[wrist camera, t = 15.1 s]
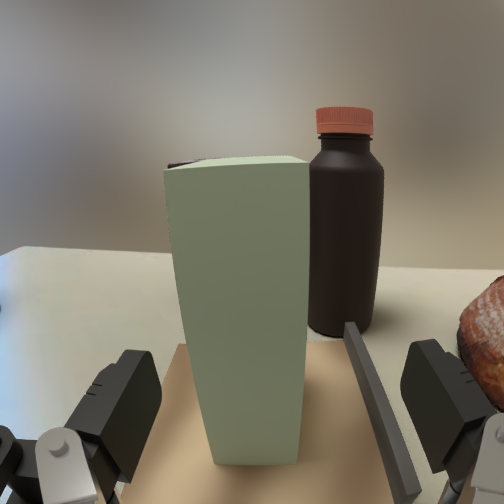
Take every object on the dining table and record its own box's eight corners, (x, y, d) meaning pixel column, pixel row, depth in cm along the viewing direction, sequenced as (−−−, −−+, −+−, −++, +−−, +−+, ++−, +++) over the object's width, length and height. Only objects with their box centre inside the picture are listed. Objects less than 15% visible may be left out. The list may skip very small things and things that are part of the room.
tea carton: (213, 463, 14) (162, 170, 9) (228, 375, 22) (207, 159, 17) (296, 464, 14) (309, 162, 9) (290, 374, 22) (289, 155, 17)
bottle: (312, 300, 35) (313, 114, 28) (372, 307, 32) (382, 115, 26) (297, 333, 29) (296, 105, 22) (369, 342, 26) (384, 106, 20)
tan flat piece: (124, 515, 11) (103, 492, 10) (181, 354, 26) (175, 326, 25) (405, 513, 10) (425, 489, 9) (352, 350, 25) (356, 321, 24)
